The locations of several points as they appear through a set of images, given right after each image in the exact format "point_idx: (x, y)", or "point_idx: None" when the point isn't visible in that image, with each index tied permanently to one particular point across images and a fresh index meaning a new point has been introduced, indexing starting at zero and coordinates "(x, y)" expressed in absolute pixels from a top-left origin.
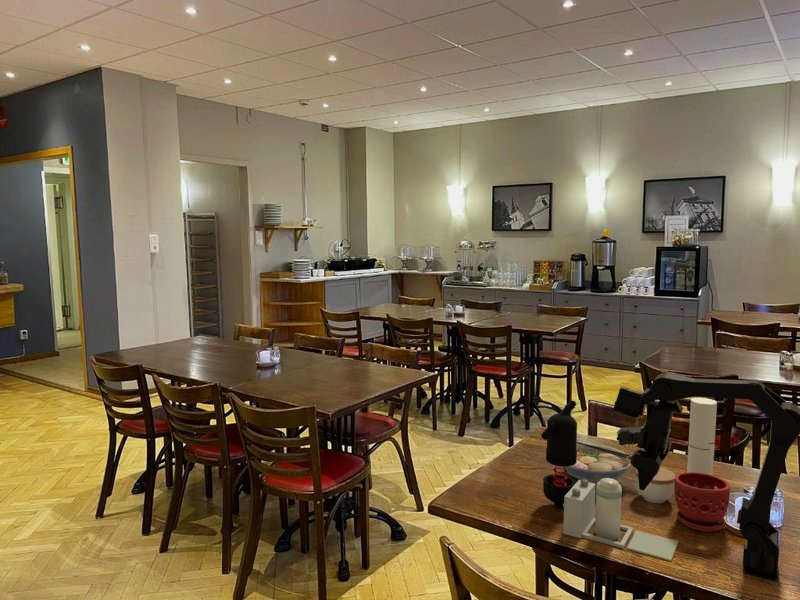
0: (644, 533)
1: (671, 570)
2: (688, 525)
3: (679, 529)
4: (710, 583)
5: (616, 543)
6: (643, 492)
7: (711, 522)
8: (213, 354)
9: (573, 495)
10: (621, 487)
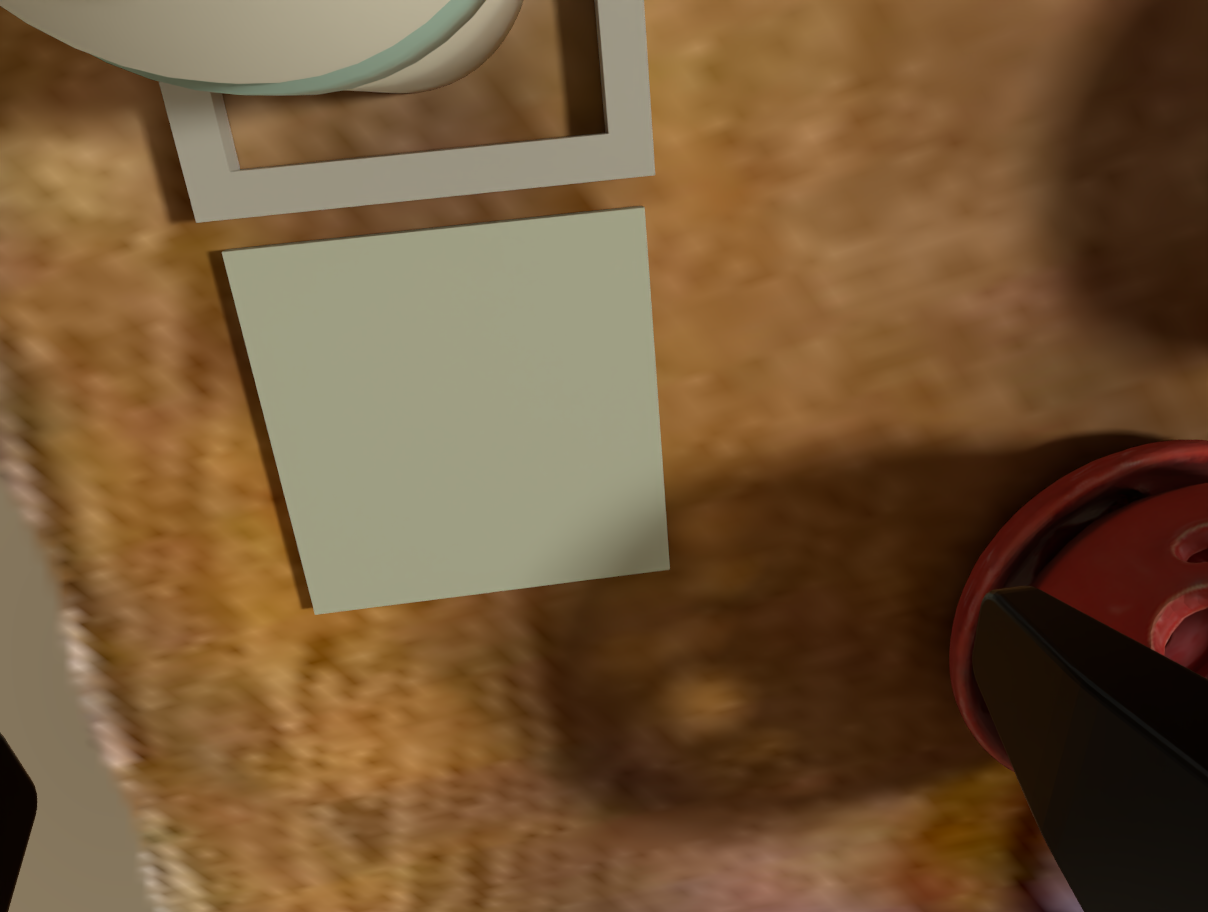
0: (631, 296)
1: (182, 647)
2: (969, 577)
3: (920, 502)
4: (227, 862)
5: (177, 142)
6: None
7: None
8: None
9: None
10: (302, 68)
